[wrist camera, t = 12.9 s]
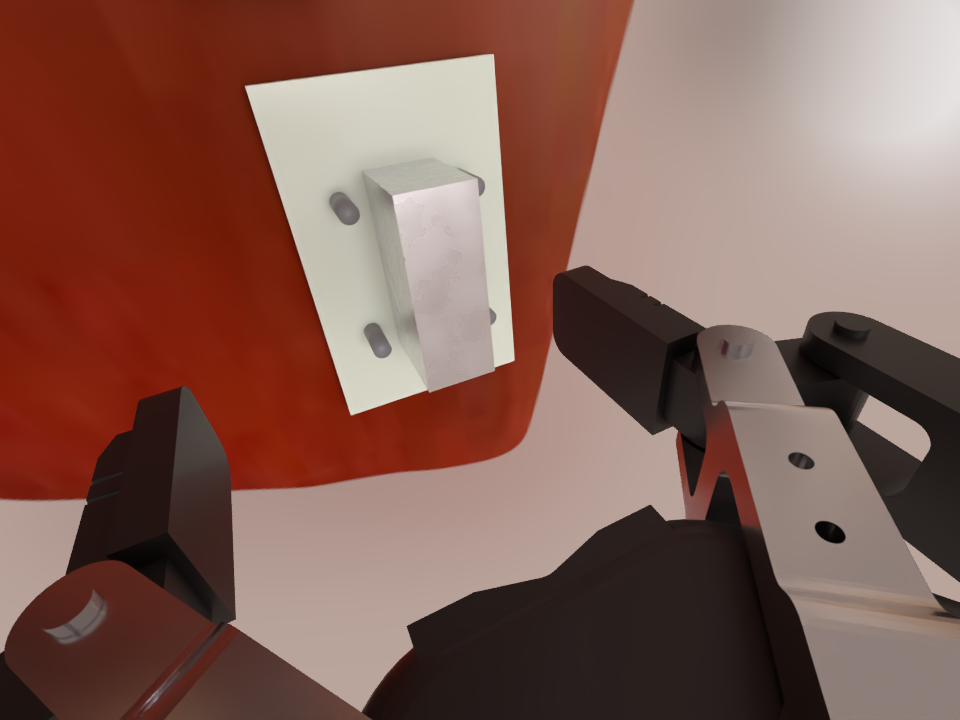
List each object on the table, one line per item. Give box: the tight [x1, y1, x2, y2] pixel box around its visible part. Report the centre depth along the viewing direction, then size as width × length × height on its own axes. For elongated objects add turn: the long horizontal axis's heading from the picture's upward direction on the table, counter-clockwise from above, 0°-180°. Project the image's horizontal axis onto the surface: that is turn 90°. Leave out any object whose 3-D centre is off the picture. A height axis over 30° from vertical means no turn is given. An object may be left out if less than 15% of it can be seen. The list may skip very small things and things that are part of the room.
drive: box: [362, 158, 495, 392], centre depth 30 cm, size 12×5×7 cm, turn 6°
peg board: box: [245, 54, 514, 415], centre depth 32 cm, size 22×14×4 cm, turn 6°
